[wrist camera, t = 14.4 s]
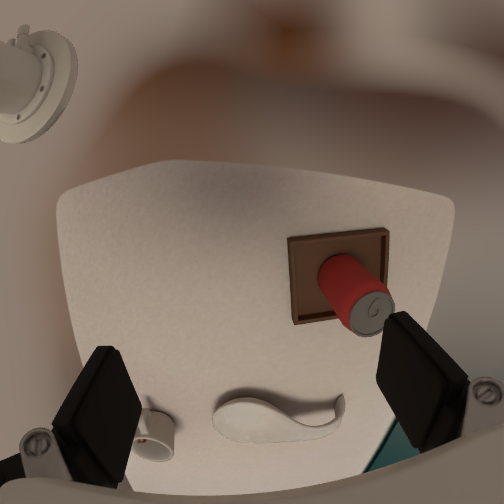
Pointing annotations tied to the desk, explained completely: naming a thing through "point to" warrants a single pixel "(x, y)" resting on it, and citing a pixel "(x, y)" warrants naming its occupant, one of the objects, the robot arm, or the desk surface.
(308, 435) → the spoon rest
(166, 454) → the cup
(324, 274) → the beer can
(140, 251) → the desk surface
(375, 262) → the tray
